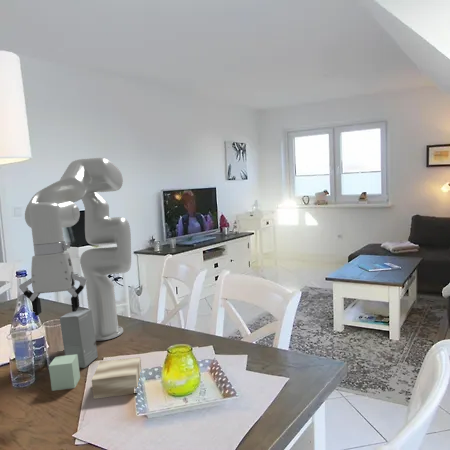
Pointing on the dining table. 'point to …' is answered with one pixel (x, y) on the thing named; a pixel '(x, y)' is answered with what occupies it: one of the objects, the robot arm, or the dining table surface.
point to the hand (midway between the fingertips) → (56, 312)
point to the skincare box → (79, 336)
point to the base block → (116, 377)
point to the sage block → (64, 372)
